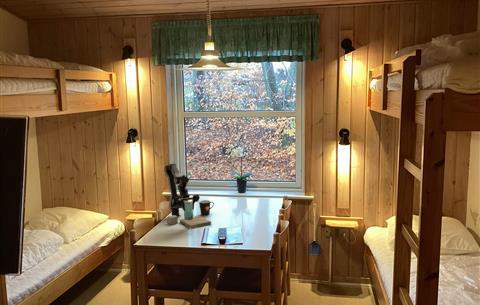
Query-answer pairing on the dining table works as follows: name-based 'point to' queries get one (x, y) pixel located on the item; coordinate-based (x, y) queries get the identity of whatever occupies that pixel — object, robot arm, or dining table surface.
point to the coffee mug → (205, 207)
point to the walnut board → (196, 222)
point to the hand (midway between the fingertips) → (189, 210)
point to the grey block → (172, 219)
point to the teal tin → (188, 209)
